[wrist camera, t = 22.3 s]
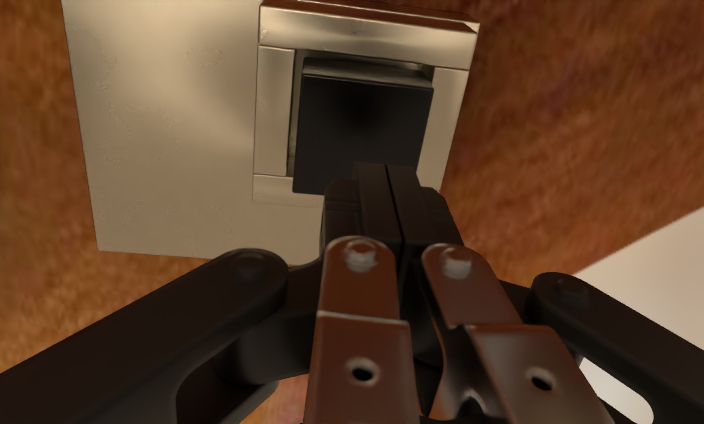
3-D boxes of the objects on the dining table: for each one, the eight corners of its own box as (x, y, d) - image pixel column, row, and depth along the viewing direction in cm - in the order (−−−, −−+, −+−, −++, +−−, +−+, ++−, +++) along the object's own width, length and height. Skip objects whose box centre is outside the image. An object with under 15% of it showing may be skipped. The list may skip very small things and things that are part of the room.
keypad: (468, 14, 19) (496, 33, 16) (412, 252, 24) (425, 300, 21) (77, -39, 17) (26, -28, 14) (111, 229, 23) (80, 277, 20)
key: (423, 70, 17) (435, 88, 15) (401, 176, 19) (410, 204, 17) (303, 55, 16) (301, 72, 15) (294, 166, 18) (291, 193, 17)
